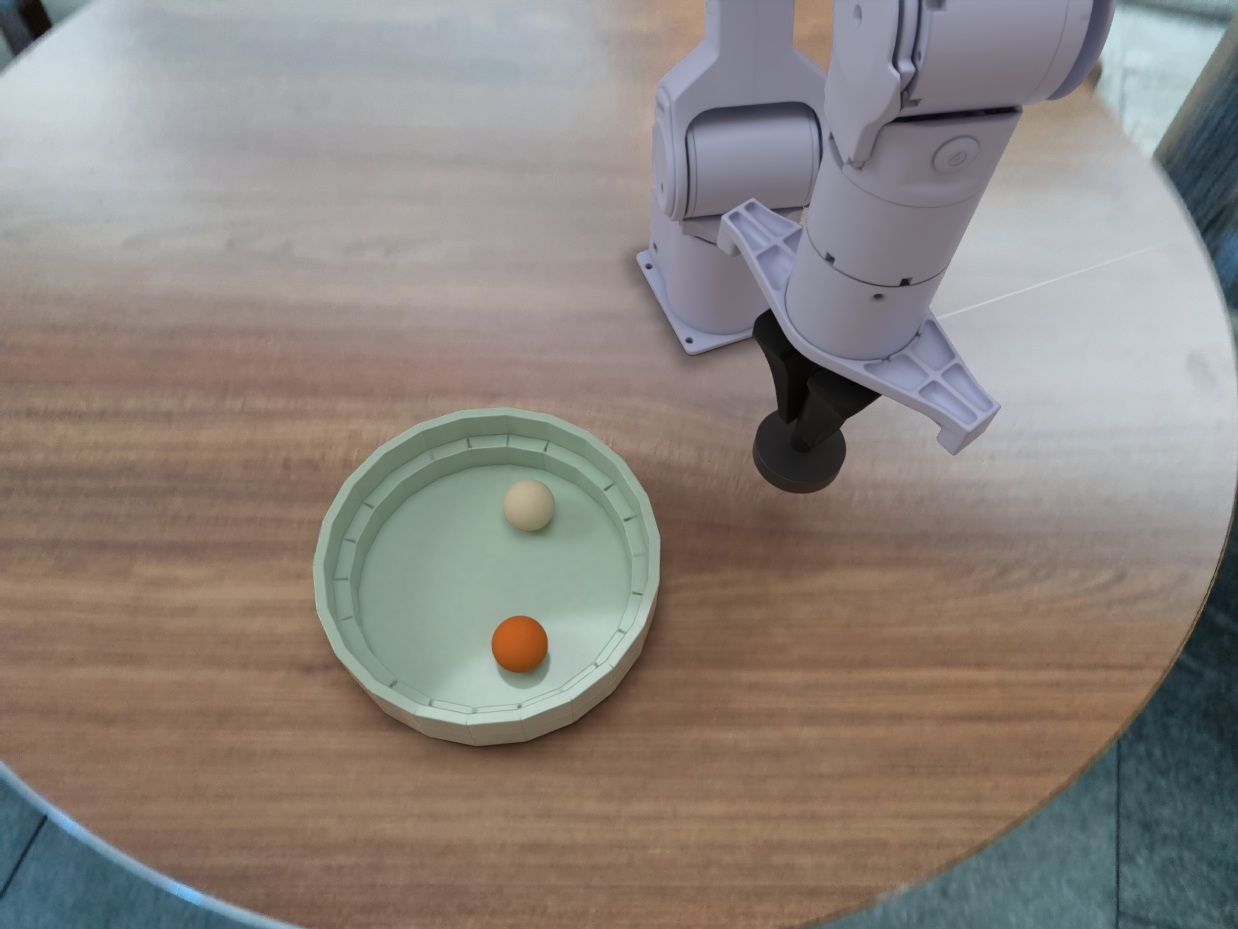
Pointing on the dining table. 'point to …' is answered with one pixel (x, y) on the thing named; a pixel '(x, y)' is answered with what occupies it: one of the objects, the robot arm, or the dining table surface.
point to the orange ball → (519, 644)
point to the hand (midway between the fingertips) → (809, 422)
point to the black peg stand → (796, 453)
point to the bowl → (487, 574)
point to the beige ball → (528, 504)
